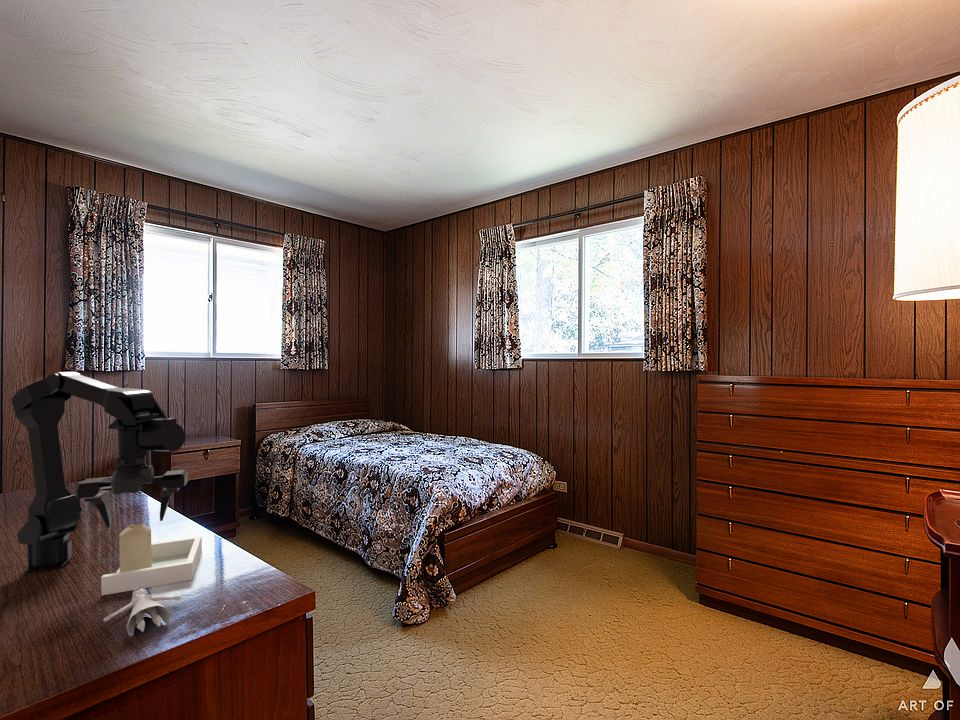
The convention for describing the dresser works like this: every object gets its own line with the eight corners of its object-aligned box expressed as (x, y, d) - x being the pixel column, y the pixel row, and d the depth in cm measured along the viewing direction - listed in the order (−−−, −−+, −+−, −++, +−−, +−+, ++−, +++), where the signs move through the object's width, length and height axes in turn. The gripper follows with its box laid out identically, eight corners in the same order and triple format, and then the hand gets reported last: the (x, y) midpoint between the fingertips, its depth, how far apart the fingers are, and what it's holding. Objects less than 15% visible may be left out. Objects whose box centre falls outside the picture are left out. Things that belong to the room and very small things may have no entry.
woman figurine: (105, 625, 76) (100, 590, 90) (106, 654, 76) (100, 615, 89) (191, 600, 83) (174, 571, 97) (192, 626, 83) (174, 594, 97)
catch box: (101, 595, 94) (101, 577, 94) (124, 562, 109) (123, 547, 109) (192, 579, 100) (192, 562, 100) (201, 550, 115) (201, 536, 115)
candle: (114, 574, 102) (113, 527, 102) (142, 564, 107) (141, 519, 107) (128, 580, 99) (127, 531, 99) (157, 569, 104) (156, 523, 104)
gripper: (64, 462, 92) (66, 544, 92) (179, 452, 99) (181, 529, 99) (84, 451, 102) (85, 526, 102) (187, 443, 109) (189, 513, 110)
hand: (135, 523), depth 103 cm, fingers open, 9 cm apart
